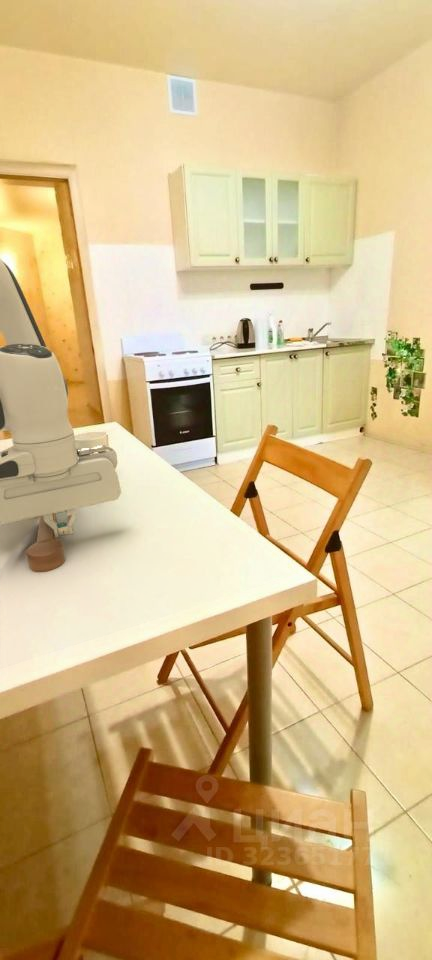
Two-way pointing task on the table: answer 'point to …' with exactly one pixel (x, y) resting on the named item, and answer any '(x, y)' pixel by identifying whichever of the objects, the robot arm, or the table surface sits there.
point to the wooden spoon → (45, 549)
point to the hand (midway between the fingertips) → (63, 534)
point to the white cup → (91, 439)
